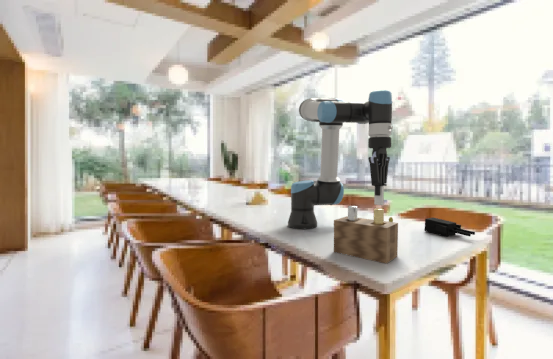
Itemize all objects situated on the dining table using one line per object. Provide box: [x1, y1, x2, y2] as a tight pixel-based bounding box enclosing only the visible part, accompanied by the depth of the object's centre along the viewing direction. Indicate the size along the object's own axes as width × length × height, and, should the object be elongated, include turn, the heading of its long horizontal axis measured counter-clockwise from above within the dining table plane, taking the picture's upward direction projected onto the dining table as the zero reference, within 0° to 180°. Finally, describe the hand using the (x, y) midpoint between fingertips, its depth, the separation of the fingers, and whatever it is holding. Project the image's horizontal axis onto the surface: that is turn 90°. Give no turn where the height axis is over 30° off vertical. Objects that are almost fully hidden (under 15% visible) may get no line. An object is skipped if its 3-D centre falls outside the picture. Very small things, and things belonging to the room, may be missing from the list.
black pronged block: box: [423, 217, 476, 238], centre depth 138 cm, size 11×6×20 cm
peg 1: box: [347, 205, 358, 221], centre depth 115 cm, size 3×3×10 cm
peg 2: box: [373, 208, 385, 225], centre depth 109 cm, size 3×3×10 cm
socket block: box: [333, 215, 399, 264], centre depth 112 cm, size 20×10×12 cm, turn 49°
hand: (378, 204), depth 108 cm, fingers closed
